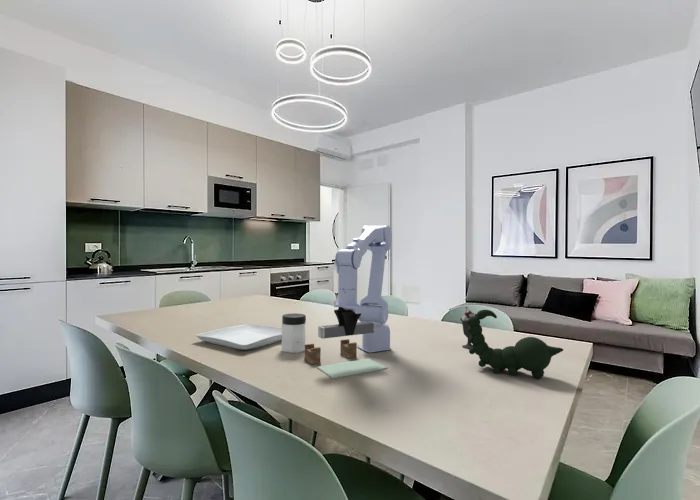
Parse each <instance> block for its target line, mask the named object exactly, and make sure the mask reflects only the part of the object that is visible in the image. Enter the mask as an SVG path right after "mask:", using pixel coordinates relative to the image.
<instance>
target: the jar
mask: <svg viewBox="0 0 700 500" xmlns="http://www.w3.org/2000/svg"><path fill="white" fill-rule="evenodd" d="M281 318H282V319H281V320H282V321H281V322H282V323H281V328H282V340H281V352H284V353H291V354H297V353H301V352H305V344H306V332H307V331H306V330H307V329H306V324H307V322H306V321H307V317H306V314H303V313H285V314H283V315H282V316H281Z"/></svg>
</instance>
